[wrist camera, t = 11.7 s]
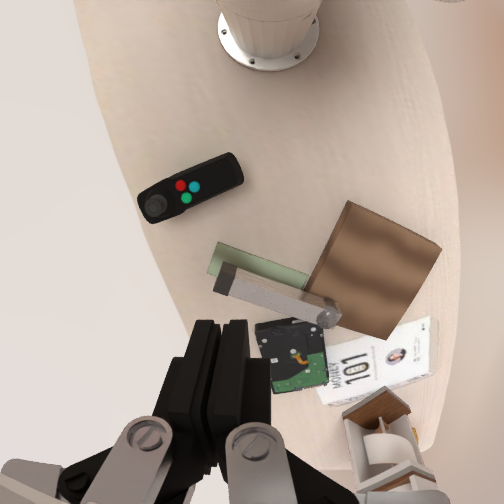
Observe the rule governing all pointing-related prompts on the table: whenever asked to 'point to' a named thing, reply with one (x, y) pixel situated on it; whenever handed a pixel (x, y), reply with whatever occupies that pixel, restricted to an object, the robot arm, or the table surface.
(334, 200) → the table surface
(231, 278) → the folding leg
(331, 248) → the brown flat wooden board
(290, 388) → the disk drive
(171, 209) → the controller
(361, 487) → the gray dispenser tower
